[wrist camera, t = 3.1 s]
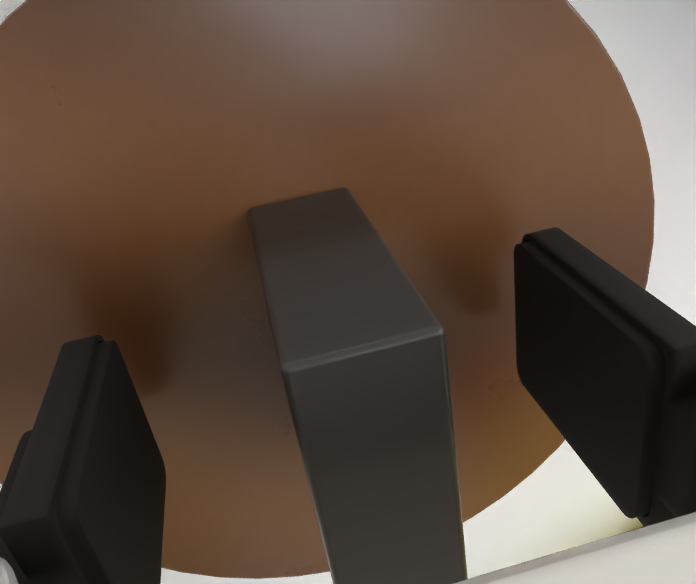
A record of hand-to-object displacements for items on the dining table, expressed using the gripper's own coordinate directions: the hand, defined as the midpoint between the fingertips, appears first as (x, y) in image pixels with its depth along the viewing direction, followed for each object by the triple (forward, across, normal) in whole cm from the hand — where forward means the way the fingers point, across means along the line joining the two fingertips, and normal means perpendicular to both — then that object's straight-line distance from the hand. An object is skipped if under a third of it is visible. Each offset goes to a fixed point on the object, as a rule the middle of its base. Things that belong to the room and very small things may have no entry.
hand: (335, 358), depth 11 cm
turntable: (+2, 0, 0) cm, 2 cm away
